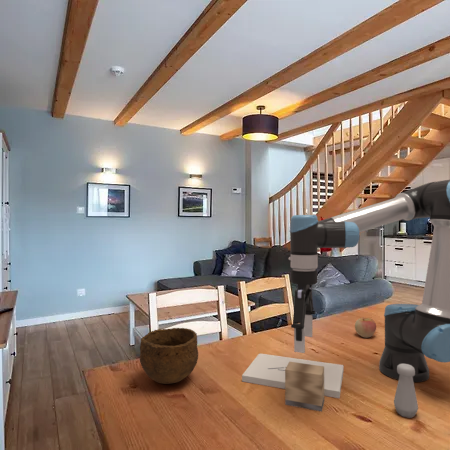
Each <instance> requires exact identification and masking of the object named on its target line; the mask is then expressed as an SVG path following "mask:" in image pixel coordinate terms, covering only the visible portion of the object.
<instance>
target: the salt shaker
mask: <svg viewBox="0 0 450 450" xmlns="http://www.w3.org/2000/svg"><path fill="white" fill-rule="evenodd" d="M397 372H398V374H400V376H399V380H398V382H397V385H396V390H395V395H394V399H393V404H394V405H393V406H394V408H395V410H396V412H397V414H398V415H399V416H401V417H402V418H403V417H404V418H407V419H411V418H413V417H415V416H416V414H417V413H418V410H419V404H418V399H417V392H416V389H415V382H413V376H414V375H415V369H414V367H413V366H411V365H409V364H399V365H398V366H397Z"/></svg>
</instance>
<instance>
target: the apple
mask: <svg viewBox="0 0 450 450" xmlns="http://www.w3.org/2000/svg"><path fill="white" fill-rule="evenodd" d="M354 323H355V324H354V330H355V332H356V333H357V335H359V336H361V337H362V338H365V339H366V338H371V337H373V336H374V335H375V333H376V331H377V324H376V322H375V320H374V319H373V318H372V317H371V318H370V317H360V318H358V319H356V321H355V322H354Z"/></svg>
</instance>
